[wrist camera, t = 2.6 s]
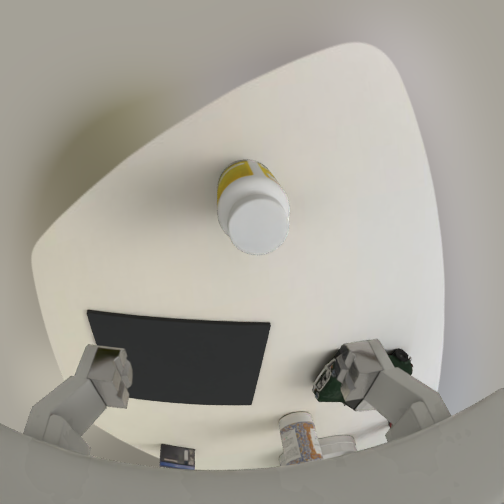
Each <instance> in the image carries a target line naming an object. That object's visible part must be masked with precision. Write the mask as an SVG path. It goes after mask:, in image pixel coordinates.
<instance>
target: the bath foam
mask: <svg viewBox="0 0 504 504" xmlns="http://www.w3.org/2000/svg"><path fill="white" fill-rule="evenodd" d="M279 429H280V435H281V440H282V446H283V451H284V456H285V461H286V465H293V464H300V463H306V462H312V461H317V460H322V459H323V456H322V452H321V448H320V445H319V441H318V437H317V434H316V430H315V426H314V423H313V419H312V416H311V415H310V414H309V413H307V412H296V413H292V414H289V415H286V416H284V417H283V418H281V419H280V421H279Z"/></svg>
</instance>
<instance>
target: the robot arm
mask: <svg viewBox="0 0 504 504" xmlns="http://www.w3.org/2000/svg"><path fill="white" fill-rule="evenodd" d="M340 353H341V354H340V355H339V356H338V357H337V358H336V361H335V366H334V370H335V375H336V378H337V380H338V381H340V382H341V383H342V385H341V388H340V389H341V392H342V394H343V397H344V400H345V401H350V400H356V399H361V398H364V400H365V401H367V402H368V403H369V404H370V405H371V406H372V407H373V408H374V409H376V410H377V411H378V412H379V413H380V414H381V415H382V416H384V417H385V418H386V419H387V420H388V421H389V422H390V423H392V424H393V426H392V427H391V428H390V429H389V431H388V432H387V433H386V435H385V436H386V439H387V441H388V442H387V443H384V444H381V445H377V446H374V447H371V448H368V449H364V450H360V451H357V452H353V453H349V454H345V455H341V456H337V457H332V458H327V459H322V460H317V461H312V462H306V463H300V464H293V465H286V466H278V467H269V468H257V469H242V470H187V469H172V468H161V467H151V466H144V465H136V464H130V463H124V462H118V461H113V460H108V459H103V458H99V457H94V456H90V450H91V447H90V446H89V444H88V443H86V441H85V440H83V438H82V437H81V436H82V435H83V434H84V433H85V432H86V430H87V429H88V428H89V427H90V426H91V425H92V424H93V423H94V421H95V420H96V419H97V418H98V417H99V416H100V415H101V414H102V412H103V411H104V410H105V409H106V408H107V407H106V406H108V407H116V408H125V409H127V405H128V400H129V393H128V390H127V389H128V388H129V387H130V386H131V385H132V380H133V370H132V366H131V363H130V362H129V361H128V360H127V352H126V350H125V349H123V348H115V347H107V346H98V345H91V344H88V345H87V346H86V348H85V350H84V353H83V355H82V358H81V360H80V363H79V365H78V368H77V370H76V373H75V376H70V377H69V378H68V379H67V380H65V381H64V382H63V383H62V384H60V385H59V386H58V387H57V388H55V389H54V390H53V391H51V392H50V393H49V394H48V395H47V396H45V397H44V398H43V399H42V400H40V401H39V402H38V403H37V404H35V405H34V406H33V407H32V409H31V412H30V415H29V418H28V421H27V424H26V427H25V430H24V433H20V432H18V431H16V430H14V429H11V428H9V427H7V426H5V425H2V424H0V504H504V388H501V389H499V390H497V391H495V392H494V393H492V394H491V395H489V396H487V397H486V398H484V399H482V400H481V401H479V402H477V403H475V404H474V405H472V406H470V407H468V408H466V409H464V410H463V411H461V412H459V413H457V414H455V415H453V416H451V414H450V413H449V411H448V409H447V407H446V405H445V403H444V402H443V400H442V398H441V396H440V394H439V393H438V392H436V391H435V390H433V389H431V388H430V387H428V386H427V385H425V384H423V383H422V382H420V381H419V380H417V379H415V378H414V377H412V376H411V375H409V374H408V373H406V372H404V371H403V370H401V369H400V368H398V367H396V368H395V367H394V366H393V364H392V362H391V360H390V358H389V357H388V355H387V353H386V351H385V349H384V348H383V346H382V344H381V343H380V341H379V340H378V339H373V340H367V341H359V342H352V343H345V344H343V345H342V346H341V348H340Z"/></svg>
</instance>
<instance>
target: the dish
mask: <svg viewBox="0 0 504 504" xmlns="http://www.w3.org/2000/svg"><path fill="white" fill-rule="evenodd" d="M318 441H319V445H320V448H321V452H322V456H323V459H327V458H332V457H337V456H341V455H345V454H349V453H353V452H357V449H356V444H355V441H354V438H353V437H352V436H348V435H338V436H331V437H326V438H321V439H318ZM279 461H280V466H286V461H285V456H284V453H283V454H282V455H281V456H280V457H279Z"/></svg>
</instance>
